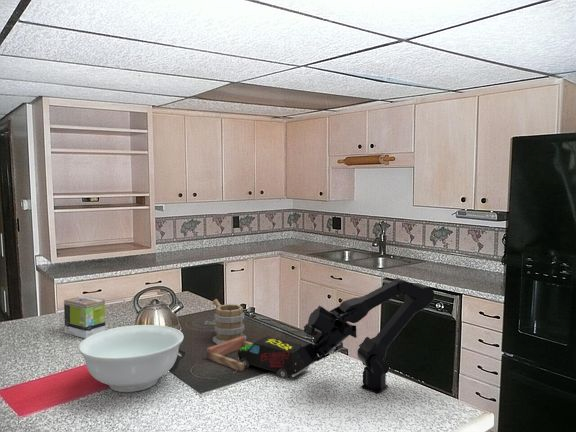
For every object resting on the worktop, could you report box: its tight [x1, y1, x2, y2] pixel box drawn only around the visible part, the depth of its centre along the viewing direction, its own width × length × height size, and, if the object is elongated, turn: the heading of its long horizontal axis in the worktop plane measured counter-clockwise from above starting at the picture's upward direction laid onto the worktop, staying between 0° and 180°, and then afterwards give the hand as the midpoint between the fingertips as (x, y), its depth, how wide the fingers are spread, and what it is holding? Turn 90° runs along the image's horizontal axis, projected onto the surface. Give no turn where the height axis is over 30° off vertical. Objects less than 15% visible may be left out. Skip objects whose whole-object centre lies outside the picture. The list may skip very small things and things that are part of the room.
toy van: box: [237, 336, 310, 379], centre depth 168 cm, size 11×25×10 cm, turn 56°
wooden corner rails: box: [206, 336, 253, 372], centre depth 178 cm, size 18×18×4 cm
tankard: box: [212, 298, 247, 345], centre depth 199 cm, size 20×13×15 cm, turn 34°
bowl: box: [78, 324, 184, 393], centre depth 156 cm, size 32×32×15 cm
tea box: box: [63, 295, 106, 339], centre depth 204 cm, size 15×10×15 cm, turn 58°
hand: (306, 361), depth 158 cm, fingers closed
